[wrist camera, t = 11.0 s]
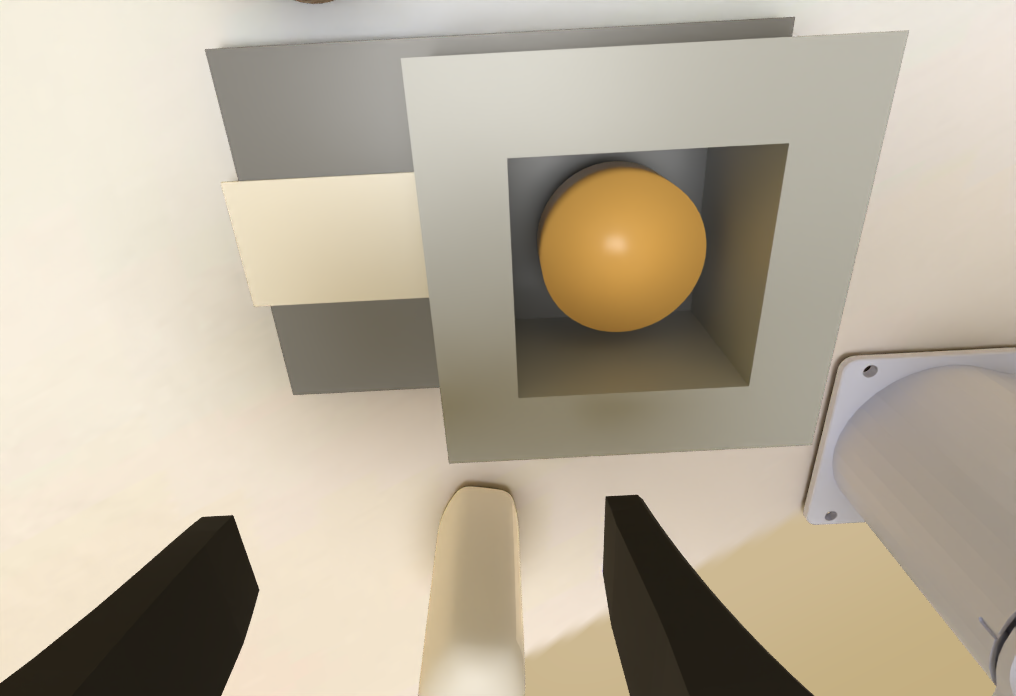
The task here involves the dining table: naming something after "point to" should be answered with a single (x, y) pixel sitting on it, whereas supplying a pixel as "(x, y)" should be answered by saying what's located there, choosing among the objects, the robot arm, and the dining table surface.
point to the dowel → (314, 1)
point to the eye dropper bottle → (475, 600)
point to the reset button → (620, 246)
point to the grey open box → (518, 208)
